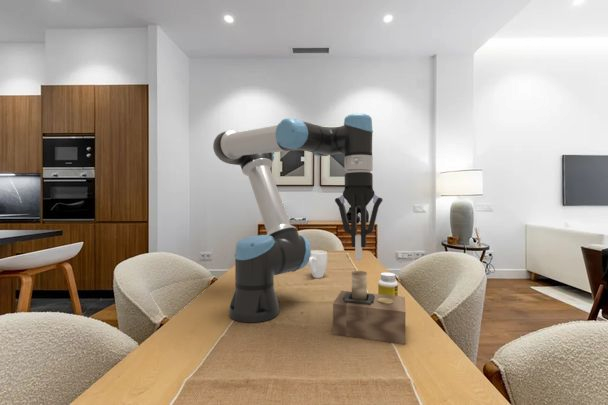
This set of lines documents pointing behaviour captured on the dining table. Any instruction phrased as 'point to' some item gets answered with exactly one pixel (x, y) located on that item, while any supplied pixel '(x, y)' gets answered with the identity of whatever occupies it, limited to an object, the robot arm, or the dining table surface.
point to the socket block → (370, 317)
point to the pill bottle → (388, 284)
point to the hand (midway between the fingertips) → (358, 258)
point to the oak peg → (359, 285)
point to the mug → (318, 263)
